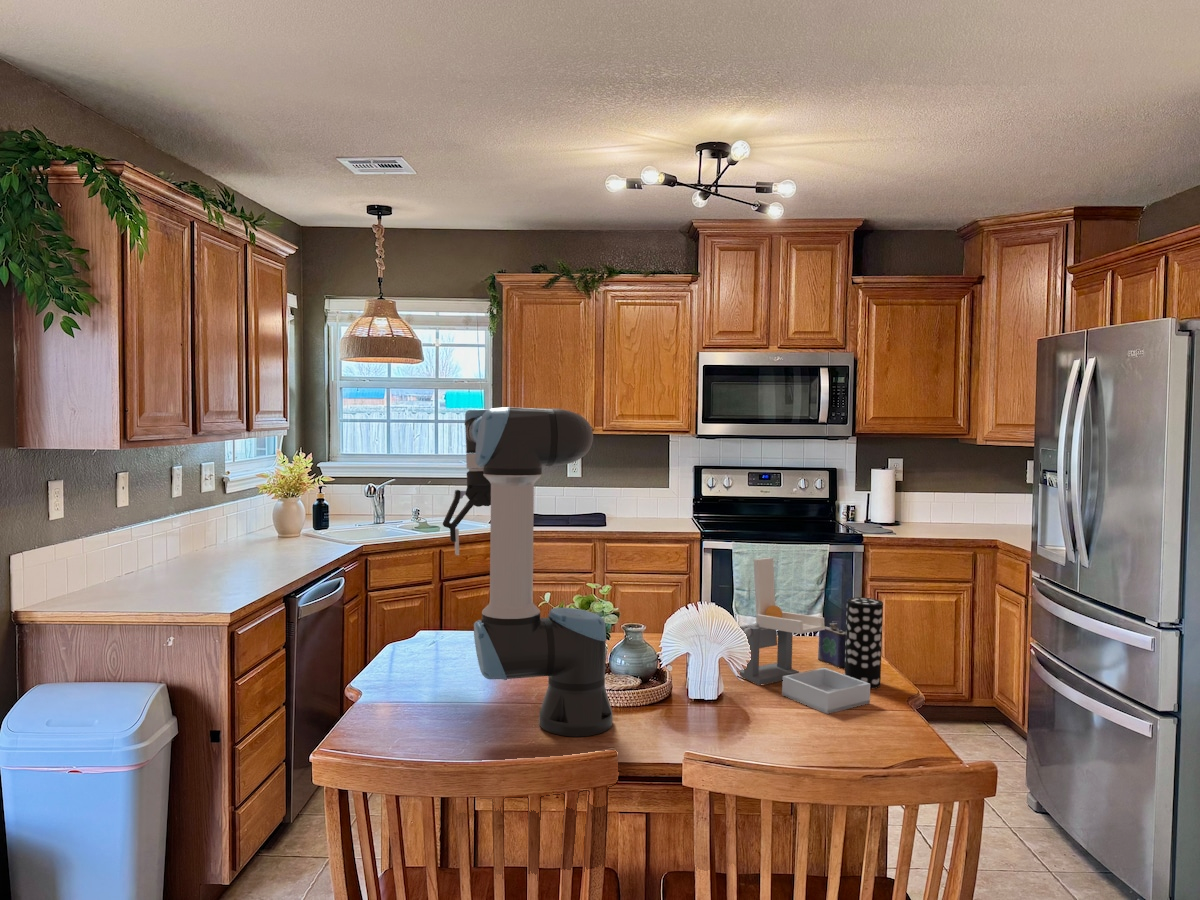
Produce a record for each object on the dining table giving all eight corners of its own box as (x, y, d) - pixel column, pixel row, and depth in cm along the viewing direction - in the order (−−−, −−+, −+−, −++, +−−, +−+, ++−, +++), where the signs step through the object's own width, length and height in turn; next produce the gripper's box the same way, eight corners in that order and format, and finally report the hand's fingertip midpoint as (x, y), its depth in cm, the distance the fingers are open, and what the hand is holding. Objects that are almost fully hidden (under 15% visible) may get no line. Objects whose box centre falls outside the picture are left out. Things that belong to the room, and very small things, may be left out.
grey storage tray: (869, 703, 189) (870, 683, 189) (827, 714, 182) (827, 693, 182) (823, 686, 201) (824, 667, 201) (782, 695, 194) (782, 676, 193)
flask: (815, 659, 223) (817, 619, 222) (824, 658, 224) (825, 618, 224) (841, 669, 215) (842, 627, 214) (849, 668, 216) (851, 626, 216)
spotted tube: (882, 690, 199) (885, 606, 198) (845, 687, 200) (848, 603, 200) (878, 679, 207) (880, 598, 206) (842, 676, 209) (845, 596, 208)
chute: (826, 654, 197) (821, 560, 198) (800, 659, 192) (796, 563, 193) (763, 642, 214) (759, 556, 215) (738, 646, 210) (734, 558, 211)
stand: (801, 676, 208) (802, 624, 207) (756, 686, 200) (758, 632, 199) (777, 668, 214) (779, 617, 214) (734, 677, 207) (735, 624, 206)
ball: (787, 617, 203) (781, 601, 205) (773, 620, 202) (766, 605, 204) (780, 622, 207) (774, 607, 208) (766, 626, 205) (760, 610, 207)
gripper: (526, 467, 223) (529, 548, 223) (430, 471, 216) (433, 554, 216) (532, 468, 216) (534, 551, 216) (433, 472, 209) (435, 557, 209)
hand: (484, 552), depth 216 cm, fingers open, 13 cm apart
